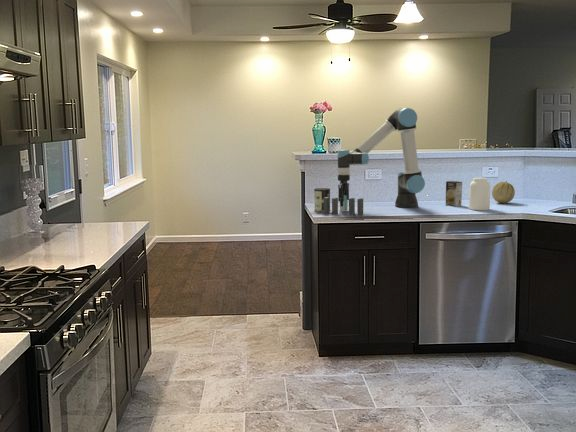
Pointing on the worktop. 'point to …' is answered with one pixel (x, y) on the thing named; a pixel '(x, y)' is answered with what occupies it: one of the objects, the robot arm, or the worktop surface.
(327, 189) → the coffee can
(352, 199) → the domino
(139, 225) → the worktop surface
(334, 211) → the domino
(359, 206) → the domino
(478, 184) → the cream jar
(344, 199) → the teal domino
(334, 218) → the worktop surface
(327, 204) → the domino
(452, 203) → the coffee box
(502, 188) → the cantaloupe
